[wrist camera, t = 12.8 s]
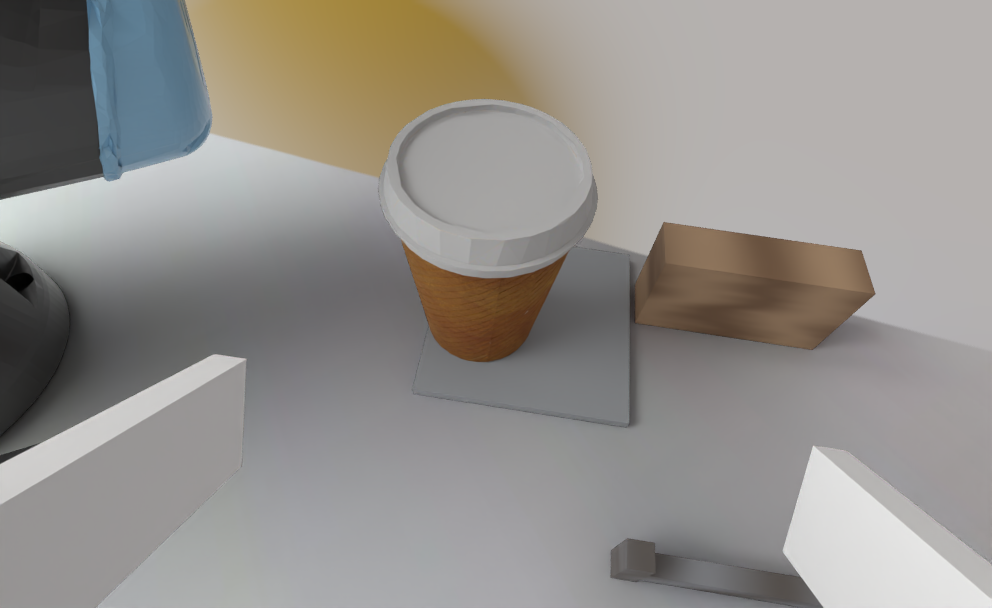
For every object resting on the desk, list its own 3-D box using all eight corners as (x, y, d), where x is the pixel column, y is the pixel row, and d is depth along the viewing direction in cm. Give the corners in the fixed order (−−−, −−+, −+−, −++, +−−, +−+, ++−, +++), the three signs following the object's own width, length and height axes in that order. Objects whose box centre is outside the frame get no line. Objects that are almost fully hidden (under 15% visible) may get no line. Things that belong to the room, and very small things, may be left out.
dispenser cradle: (610, 577, 25) (647, 556, 20) (616, 282, 35) (642, 219, 30) (899, 626, 24) (1011, 618, 19) (822, 312, 34) (883, 253, 29)
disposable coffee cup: (454, 419, 28) (452, 290, 18) (373, 295, 32) (335, 133, 22) (590, 338, 32) (651, 191, 22) (501, 234, 36) (517, 71, 26)
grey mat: (413, 393, 30) (412, 389, 29) (453, 234, 36) (453, 229, 36) (626, 427, 29) (629, 423, 29) (627, 260, 36) (629, 254, 35)
